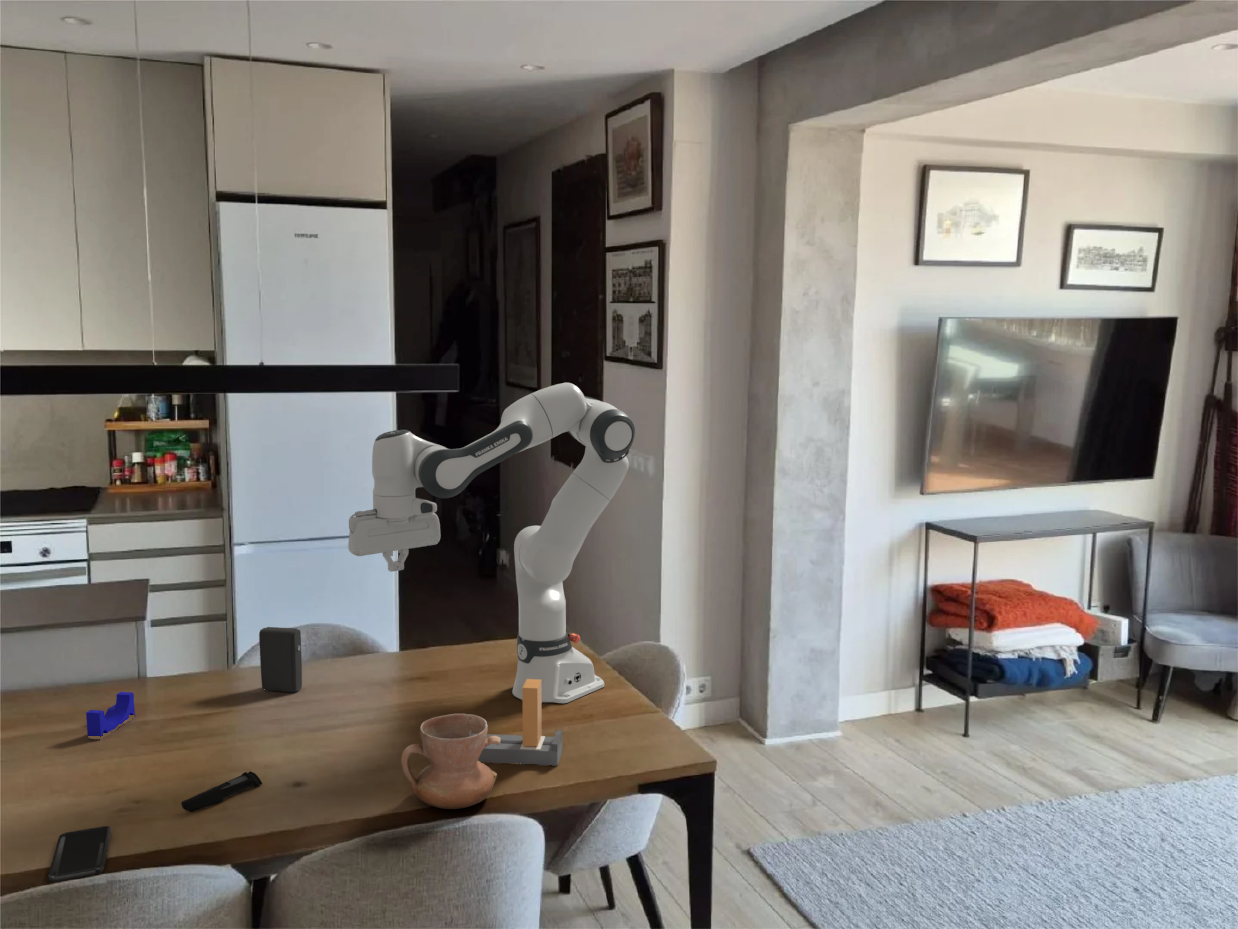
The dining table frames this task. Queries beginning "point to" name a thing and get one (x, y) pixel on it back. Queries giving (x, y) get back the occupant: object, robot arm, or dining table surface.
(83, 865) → the phone
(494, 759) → the switch track
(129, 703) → the blue cradle holder
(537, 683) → the switch tab
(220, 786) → the electric trimmer
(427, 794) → the ceramic jug
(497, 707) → the dining table surface
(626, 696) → the dining table surface
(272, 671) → the dark grey upright block
